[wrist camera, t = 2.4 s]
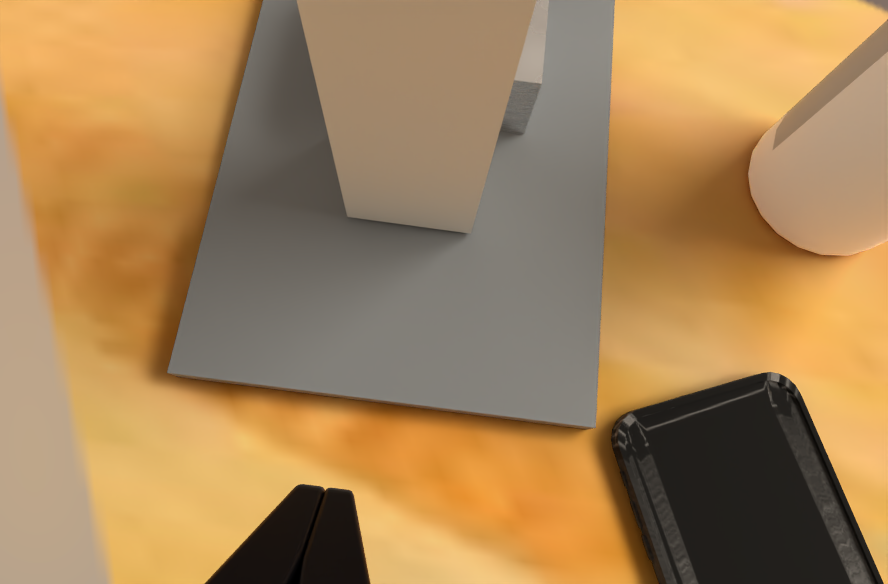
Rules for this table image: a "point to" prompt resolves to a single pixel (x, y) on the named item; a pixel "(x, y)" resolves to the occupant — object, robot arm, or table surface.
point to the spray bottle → (830, 159)
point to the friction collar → (528, 73)
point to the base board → (409, 251)
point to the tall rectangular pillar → (414, 100)
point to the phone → (739, 489)
